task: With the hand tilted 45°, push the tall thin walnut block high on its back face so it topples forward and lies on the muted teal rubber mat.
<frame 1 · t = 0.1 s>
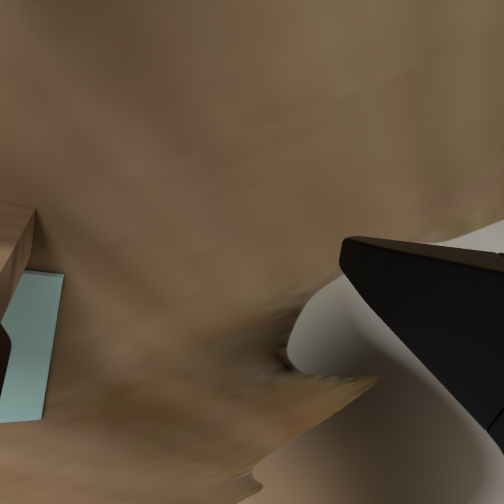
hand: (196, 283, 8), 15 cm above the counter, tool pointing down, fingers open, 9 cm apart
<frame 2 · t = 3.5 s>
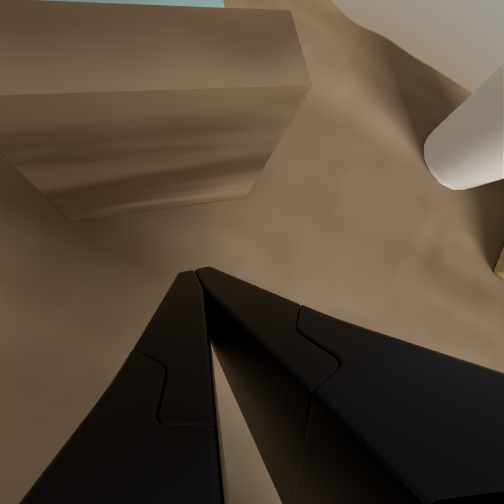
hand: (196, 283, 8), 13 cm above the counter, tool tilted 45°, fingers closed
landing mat: (134, 52, 24), on the counter
foam cup: (449, 160, 30), on the counter
walnut block: (160, 185, 22), on the counter
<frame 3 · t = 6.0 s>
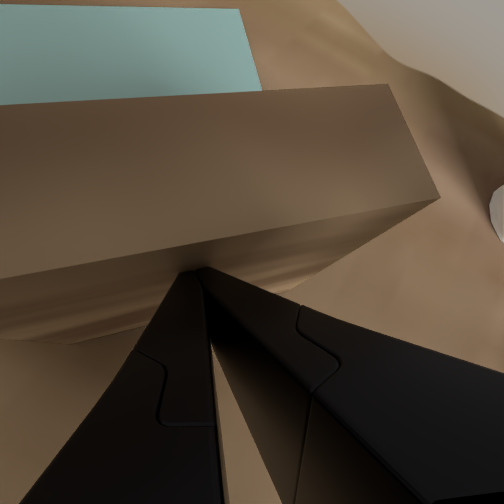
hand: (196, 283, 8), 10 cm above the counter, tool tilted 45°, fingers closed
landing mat: (146, 115, 20), on the counter
walnut block: (182, 284, 18), on the counter
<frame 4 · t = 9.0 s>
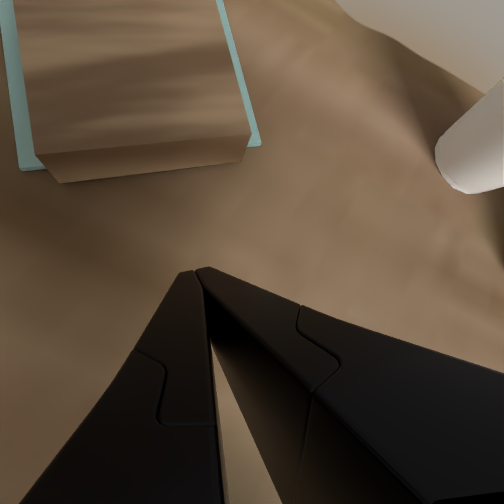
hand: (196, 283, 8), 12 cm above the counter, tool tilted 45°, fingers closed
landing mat: (132, 59, 23), on the counter
foam cup: (462, 163, 28), on the counter
walnut block: (155, 158, 19), point 2 cm above the counter, tilted 90°, touching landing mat
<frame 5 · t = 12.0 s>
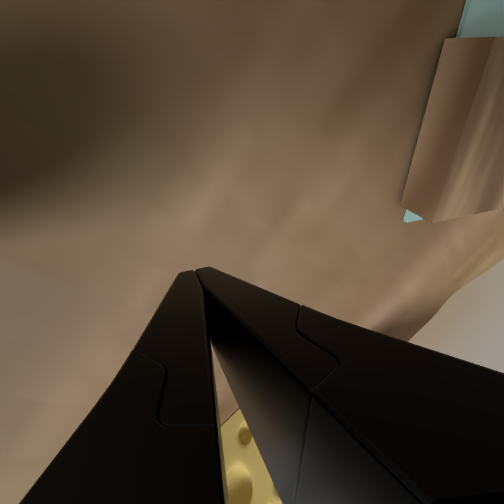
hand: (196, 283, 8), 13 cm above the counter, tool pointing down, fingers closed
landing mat: (503, 121, 26), on the counter
cheese: (255, 421, 40), on the counter
walnut block: (437, 138, 22), point 2 cm above the counter, tilted 90°, touching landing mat
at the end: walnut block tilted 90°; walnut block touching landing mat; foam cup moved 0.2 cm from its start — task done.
